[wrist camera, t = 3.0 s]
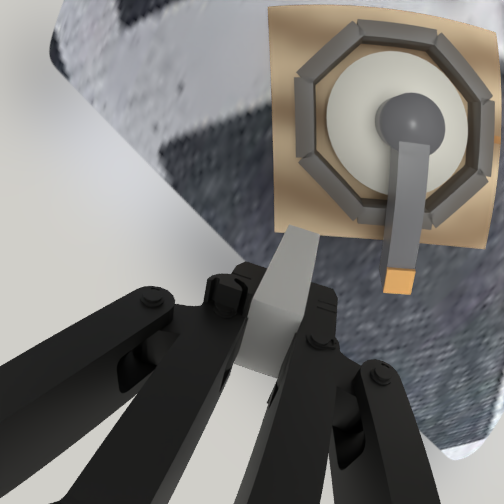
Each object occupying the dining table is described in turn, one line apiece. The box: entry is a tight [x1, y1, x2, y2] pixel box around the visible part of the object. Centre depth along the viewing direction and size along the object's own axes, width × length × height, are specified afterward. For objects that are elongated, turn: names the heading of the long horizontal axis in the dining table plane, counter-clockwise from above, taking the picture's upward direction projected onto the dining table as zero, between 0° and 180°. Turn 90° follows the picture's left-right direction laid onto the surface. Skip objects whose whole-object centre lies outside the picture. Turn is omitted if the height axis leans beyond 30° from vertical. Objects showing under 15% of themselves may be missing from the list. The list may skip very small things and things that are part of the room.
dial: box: [326, 51, 468, 295], centre depth 17 cm, size 15×10×6 cm, turn 2°
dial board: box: [268, 5, 501, 249], centre depth 19 cm, size 18×18×4 cm
